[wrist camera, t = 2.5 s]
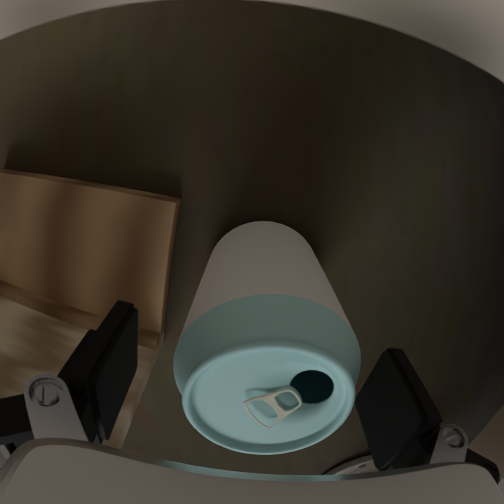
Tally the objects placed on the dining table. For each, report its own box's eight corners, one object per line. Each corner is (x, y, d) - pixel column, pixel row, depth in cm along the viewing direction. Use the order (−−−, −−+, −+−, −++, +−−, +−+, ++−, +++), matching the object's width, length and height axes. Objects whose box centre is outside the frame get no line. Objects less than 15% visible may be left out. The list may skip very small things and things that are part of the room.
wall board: (181, 198, 19) (-4, 365, 4) (163, 342, 22) (92, 532, 7) (3, 168, 18) (-157, 224, 3) (8, 291, 21) (-102, 391, 6)
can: (232, 201, 19) (199, 287, 7) (333, 244, 20) (414, 361, 8) (195, 295, 21) (146, 434, 10) (287, 329, 22) (308, 473, 11)
